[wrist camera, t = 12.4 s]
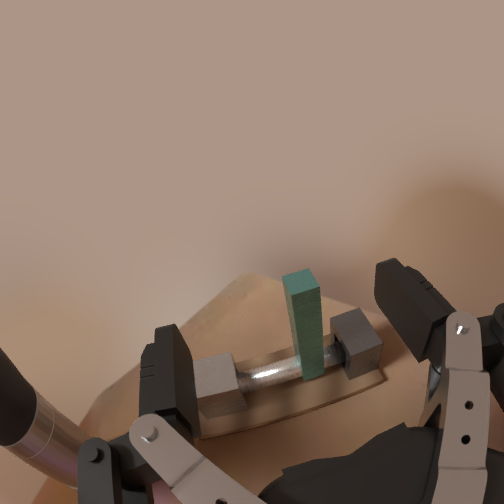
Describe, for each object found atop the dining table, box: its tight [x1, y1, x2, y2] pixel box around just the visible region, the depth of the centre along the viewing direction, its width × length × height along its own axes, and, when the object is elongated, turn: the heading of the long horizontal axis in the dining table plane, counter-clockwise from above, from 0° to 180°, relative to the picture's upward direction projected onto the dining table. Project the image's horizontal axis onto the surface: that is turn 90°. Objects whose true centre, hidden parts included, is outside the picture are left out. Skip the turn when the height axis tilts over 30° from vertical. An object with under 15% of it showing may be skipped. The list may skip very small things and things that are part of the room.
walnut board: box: [198, 334, 384, 439], centre depth 40 cm, size 26×11×1 cm, turn 102°
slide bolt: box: [236, 269, 346, 394], centre depth 35 cm, size 19×3×16 cm, turn 102°
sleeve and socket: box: [193, 308, 383, 419], centre depth 38 cm, size 24×7×6 cm, turn 102°
